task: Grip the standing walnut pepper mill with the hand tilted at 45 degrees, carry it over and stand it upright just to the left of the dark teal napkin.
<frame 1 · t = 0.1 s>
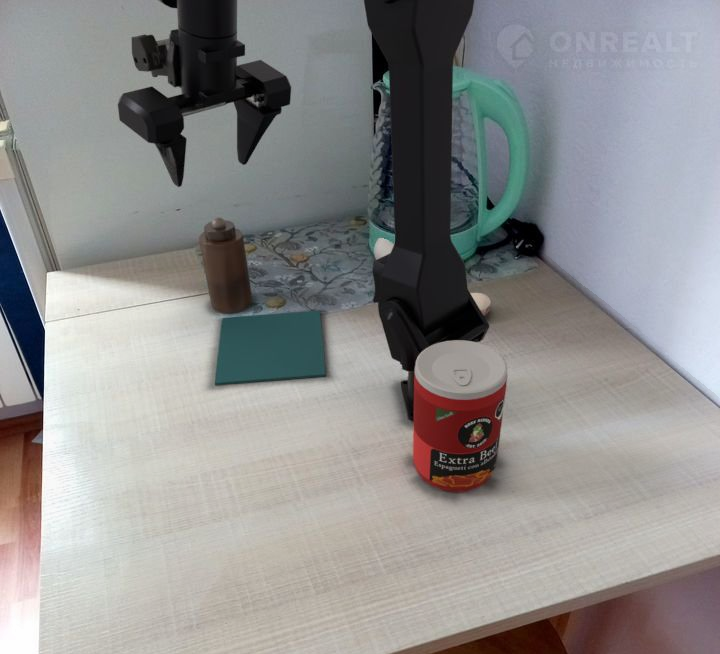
hand: (210, 173, 82), 15 cm above the table, tool pointing down, fingers open, 9 cm apart
macaroon: (468, 315, 86), on the table
donut: (410, 263, 97), on the table
canned food: (453, 466, 65), on the table
pepper mill: (232, 303, 90), on the table
napkin: (271, 346, 82), on the table
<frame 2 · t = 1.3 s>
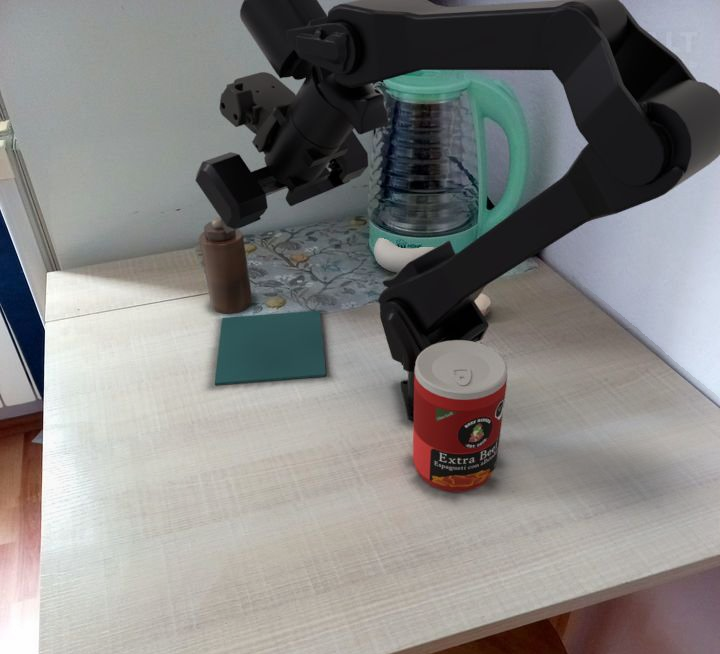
hand: (258, 215, 77), 13 cm above the table, tool tilted 45°, fingers open, 9 cm apart
nothing on the table moved.
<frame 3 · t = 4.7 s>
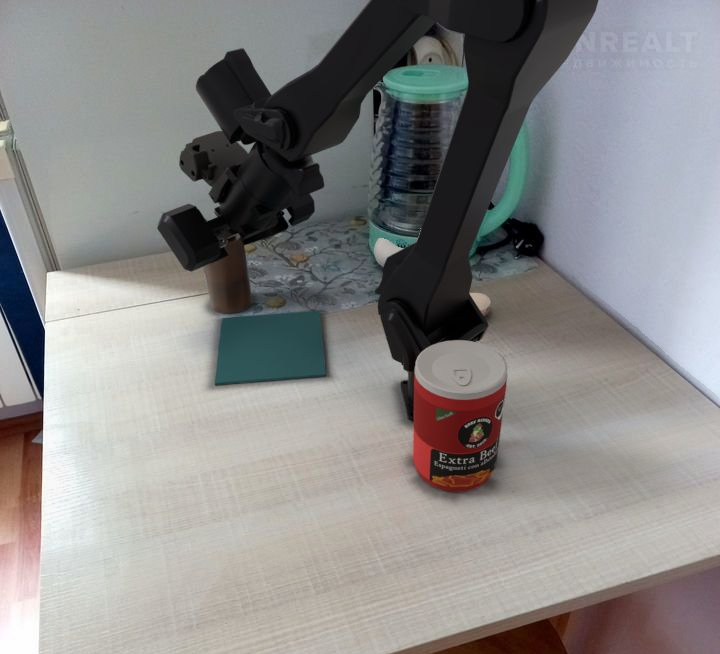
hand: (216, 251, 86), 7 cm above the table, tool tilted 45°, fingers closed on pepper mill, 5 cm apart
pepper mill: (232, 303, 90), on the table, touching gripper
everything else where it was.
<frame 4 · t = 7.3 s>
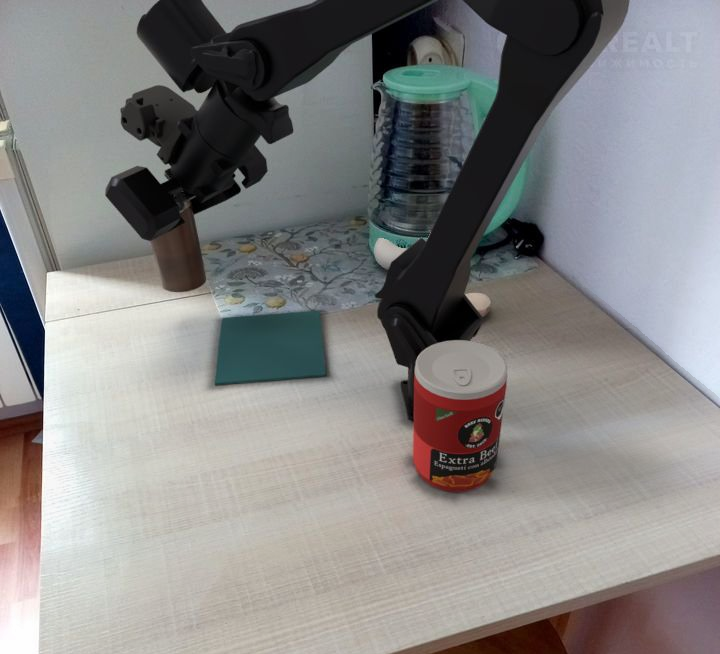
hand: (162, 224, 78), 12 cm above the table, tool tilted 45°, fingers closed on pepper mill, 5 cm apart
pepper mill: (184, 281, 82), point 6 cm above the table, touching gripper
everything else where it was.
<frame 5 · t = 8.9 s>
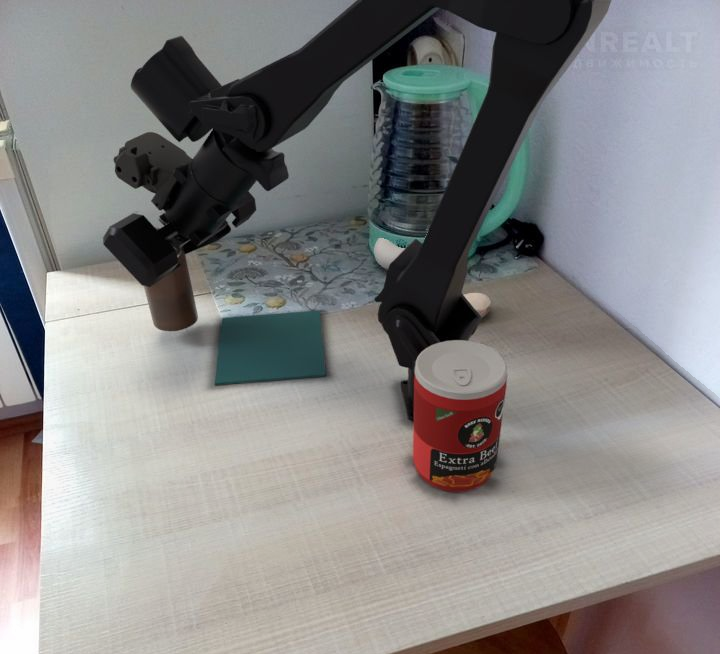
hand: (154, 265, 79), 9 cm above the table, tool tilted 45°, fingers closed on pepper mill, 5 cm apart
pepper mill: (176, 320, 83), point 2 cm above the table, touching gripper
everything else where it was.
when the fingers open (7 cm above the table, at t = 10.1 s): pepper mill stays where it is, on the table.
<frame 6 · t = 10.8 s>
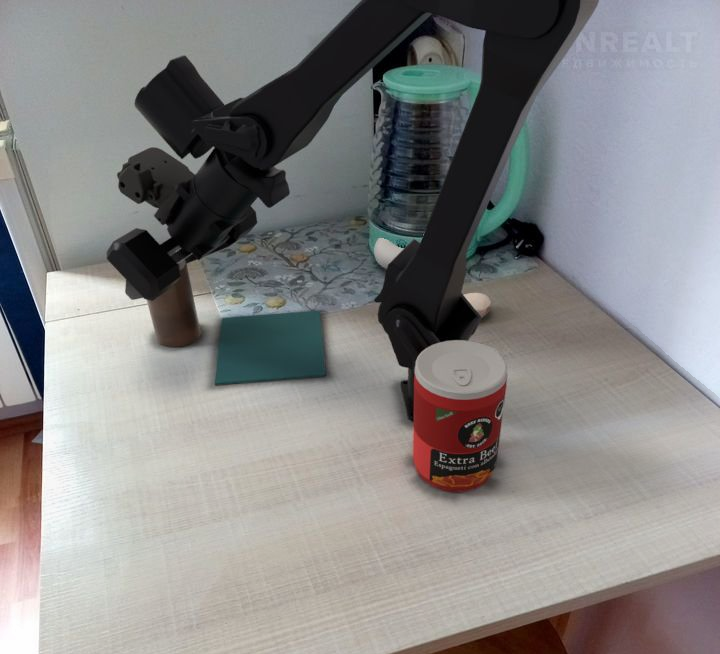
hand: (156, 277, 80), 7 cm above the table, tool tilted 45°, fingers open, 9 cm apart
pepper mill: (178, 335, 84), on the table
everything else where it was.
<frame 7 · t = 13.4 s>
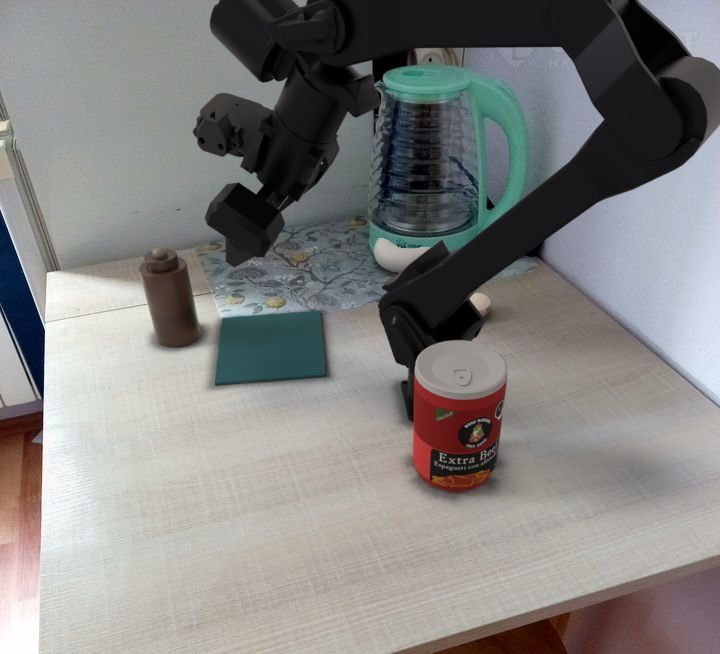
hand: (249, 238, 74), 13 cm above the table, tool tilted 35°, fingers open, 9 cm apart
nothing on the table moved.
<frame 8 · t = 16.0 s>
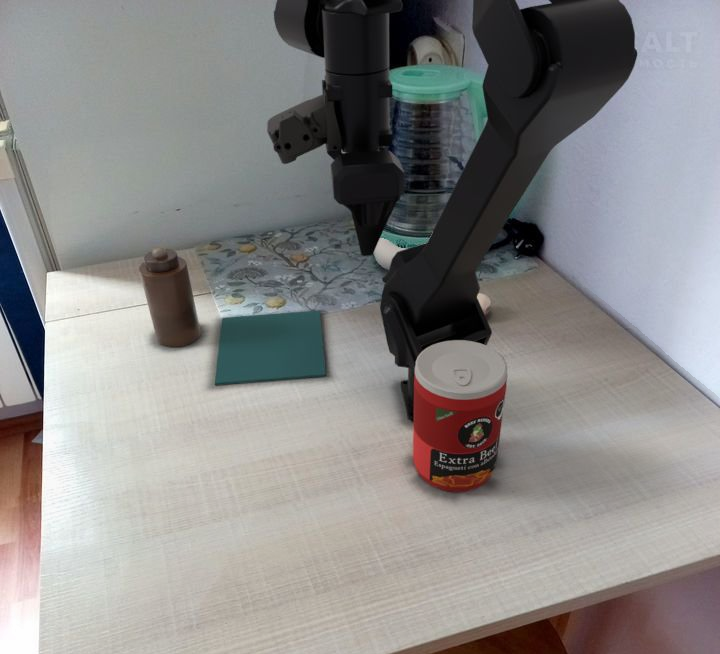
hand: (362, 235, 73), 13 cm above the table, tool pointing down, fingers open, 9 cm apart
nothing on the table moved.
at the end: pepper mill inside the target area (0.2 cm from its centre), on the table; pepper mill tilted 0°; the gripper is holding nothing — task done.
